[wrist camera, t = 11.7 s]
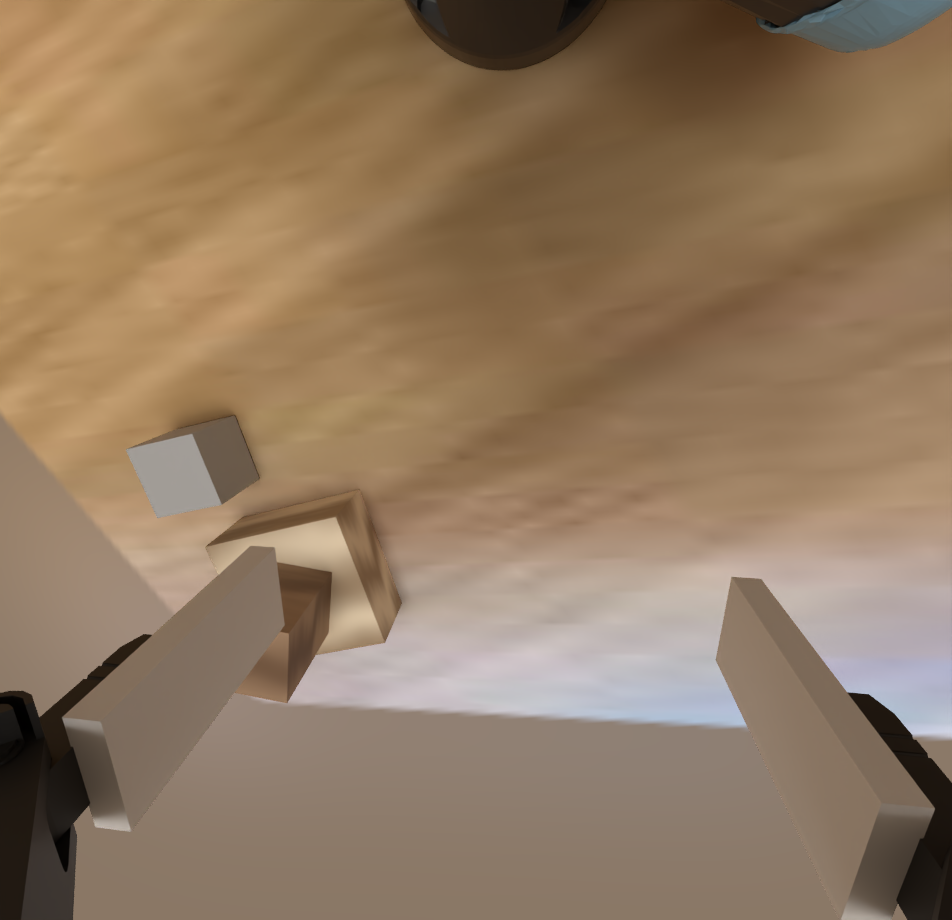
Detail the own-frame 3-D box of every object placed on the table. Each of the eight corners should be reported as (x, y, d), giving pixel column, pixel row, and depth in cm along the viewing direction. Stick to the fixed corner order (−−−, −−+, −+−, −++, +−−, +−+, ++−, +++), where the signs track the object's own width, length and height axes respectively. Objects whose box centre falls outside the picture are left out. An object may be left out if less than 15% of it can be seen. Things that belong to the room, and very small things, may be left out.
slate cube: (175, 429, 47) (125, 449, 41) (234, 415, 46) (192, 433, 40) (201, 490, 48) (157, 518, 43) (259, 478, 47) (221, 504, 42)
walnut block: (261, 559, 43) (203, 617, 36) (332, 572, 43) (288, 633, 35) (261, 619, 45) (206, 687, 38) (328, 632, 45) (286, 703, 37)
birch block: (243, 516, 49) (205, 547, 43) (360, 489, 47) (335, 517, 41) (290, 623, 52) (261, 664, 47) (402, 602, 50) (384, 642, 44)
